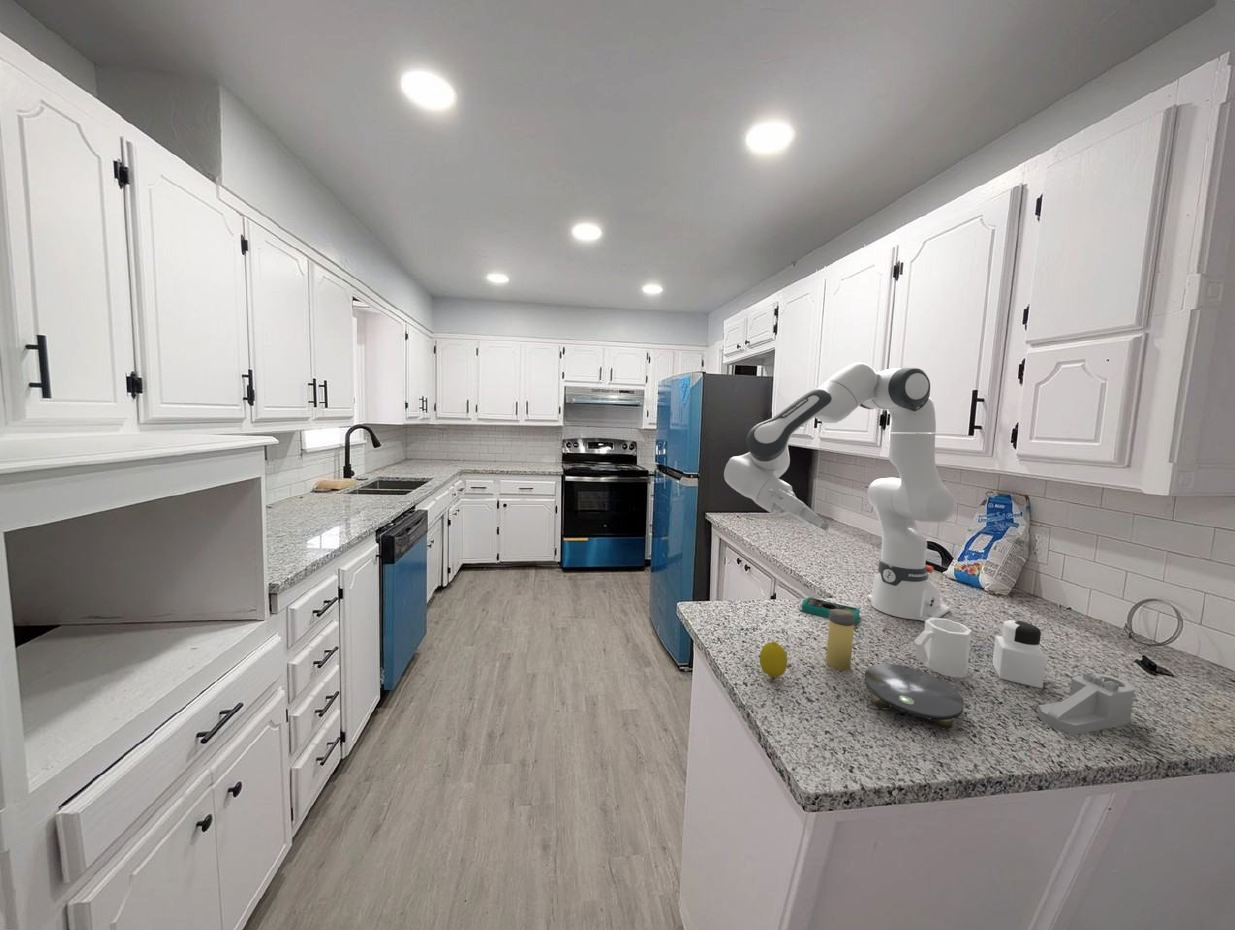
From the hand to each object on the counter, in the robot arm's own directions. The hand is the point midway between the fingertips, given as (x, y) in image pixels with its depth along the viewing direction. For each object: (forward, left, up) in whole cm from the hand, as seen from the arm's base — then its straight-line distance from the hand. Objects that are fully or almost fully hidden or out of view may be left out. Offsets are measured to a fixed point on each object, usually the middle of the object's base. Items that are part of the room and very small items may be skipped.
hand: (825, 526), depth 107 cm
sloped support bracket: (-23, +41, -30) cm, 56 cm away
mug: (-16, +19, -30) cm, 39 cm away
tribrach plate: (+4, +25, -30) cm, 39 cm away
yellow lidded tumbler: (+4, +9, -30) cm, 31 cm away
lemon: (+22, +7, -30) cm, 38 cm away
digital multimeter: (-18, -11, -30) cm, 37 cm away
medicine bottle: (-29, +28, -30) cm, 50 cm away
